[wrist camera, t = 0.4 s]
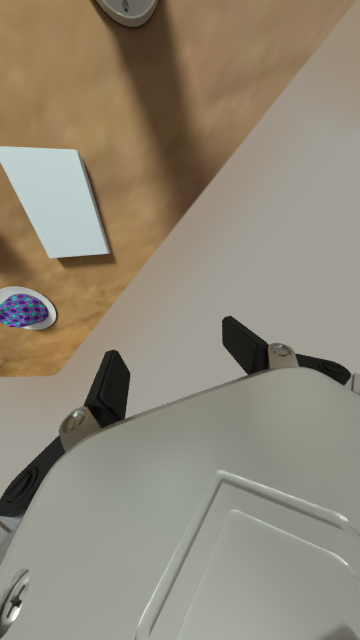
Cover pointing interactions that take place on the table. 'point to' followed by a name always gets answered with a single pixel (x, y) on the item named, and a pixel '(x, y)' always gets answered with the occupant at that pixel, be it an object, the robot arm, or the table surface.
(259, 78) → the table surface
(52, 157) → the pale blue flat board
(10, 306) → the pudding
